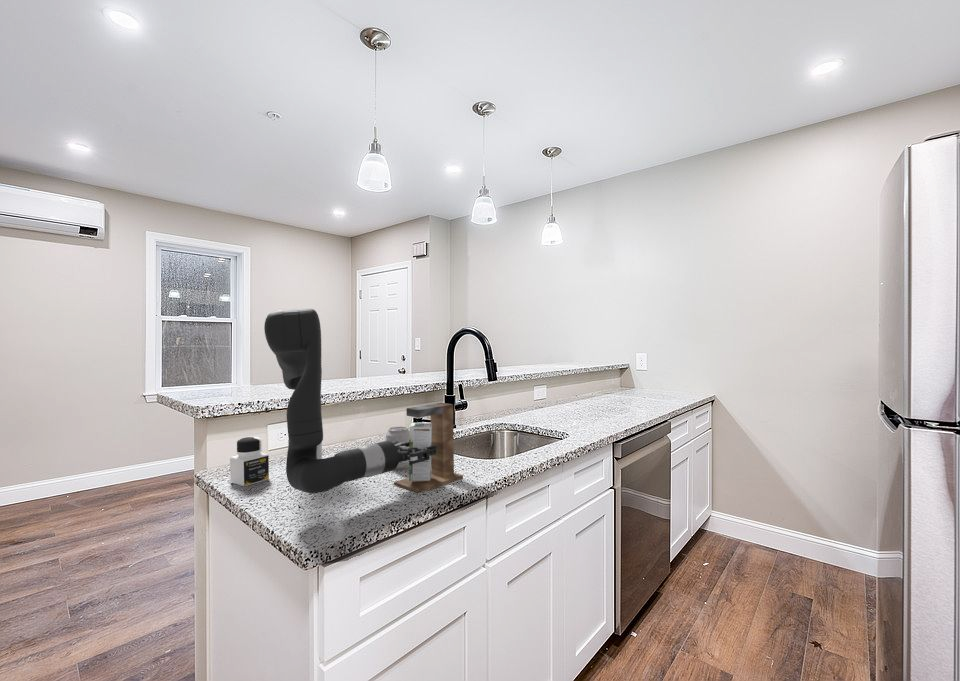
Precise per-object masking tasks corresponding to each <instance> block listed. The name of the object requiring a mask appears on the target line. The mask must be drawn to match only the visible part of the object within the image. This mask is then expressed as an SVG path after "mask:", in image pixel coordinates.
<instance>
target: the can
mask: <svg viewBox="0 0 960 681" xmlns="http://www.w3.org/2000/svg"><path fill="white" fill-rule="evenodd" d="M387 430H388V431H387V432H386V433H385V441H391V442H396V441H398V442H399V443H401V442H405V443H406V442H409V431H410V427H408V426H401V425H400V426H392V427H391V426H390V427H388V429H387ZM405 469H409V461H407V462H404V463H400V462H399V464H398V466H397V467H396V469H395V470H394V471H400V470H405Z"/></svg>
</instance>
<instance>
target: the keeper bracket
mask: <svg viewBox="0 0 960 681" xmlns="http://www.w3.org/2000/svg"><path fill="white" fill-rule="evenodd" d="M406 416H407V417H412V418H418V419H419V418H425V417H429V416H430V423H431V424H432V446H434V445H435V446H437V454H435V455H431V479H430V481H409V476H408V477H406V478H402V479H399V480H396V481H394V482H393V485H394V486H396V487H399V488H401V489H404V490H407V491H409V492H413V493H414V494H421V493H424V492H427V491H429V490H432V489H436V488H438V487H441V486H443V485H447V484H450V483H452V482H455V481H458V480H461V479H463V477H464V475H463V474H461V473H460V474H459V473H457V472H455V464H454V463H455V459H454V458H455V455H454V454H455V453H454V450H455V449H454V446H455V445H454V444H455V443H454V441H455V440H454V404H452V403H446V402H438V403H437V402H436V403H431V404H425V405H417V406H411V407H406Z"/></svg>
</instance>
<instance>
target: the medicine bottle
mask: <svg viewBox="0 0 960 681" xmlns="http://www.w3.org/2000/svg"><path fill="white" fill-rule="evenodd" d="M262 450H263V449H262V438H261V437H258V436H247V437H241V438H240V439H238V440H237V441H236V454H237V455H234V456H230V458H229V473H230V475H229V477H230V481H229V482H230V483H231V482H232V484H235V485H238V486H241V487H247V486H252V485H254V484H258V483H261V482H265V481H268V480H269V478H270V476H269V475H270V473H269V472H270V470H269V469H270V467H269V466H270V464H269V463H270V462H269V461H270V460H269V459H270V458H269V454H268V453H263V452H262Z"/></svg>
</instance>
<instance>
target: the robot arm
mask: <svg viewBox="0 0 960 681" xmlns="http://www.w3.org/2000/svg"><path fill="white" fill-rule="evenodd" d="M264 321H265V322H264V326H263V327H264V337H265V341H266V342H267V344H268V347H269V349H270V350H271V352H272V353H273V354H274V355H275V357H276V361H277V363H278V366H279V368H280V369H281V373H282V378H283V384H284V386H285V388H287V389H288V390H293V392H292V394H291V396H290V398H289V400H288V402H287V403H288V404H287V407H286V426H287V428H286V429H287V434H288V435H287V436H288V442H287V443H288V444H287V446H288V447H287V452H286V453H287V454H286V455H287V456H286V463H285V464H286V466H285V472H286V477H287V481H288V484H289V486H291V488H293V489H294V490H297V491H299V492H304V493H307V494H311V495H312V494H314V495H315V494H321V493H325V492H327V491H330V490H332V489H334V488H336V487H339V486H341V485H342V484H344V483H347V482H348V483H349V482H353V481H356V480H360V479H363V478H371V477H373V476H377V475H378V476H379V475H383V474H385V473H390V472H393V471H396V470H395V469H396V467H397V466H398V464H399V462H400V463H404V462H407V461H410V464H415V463H419V462H422V461H426V460H430V456H431V455H435V454H437V446H435V445H434V446H430V447H426V448H425V447H424V448H418V447H417V446H412V447H409V442H406V443H405V442H401V443H399V442H398V441H396V442H391V441H386V440H383V441H380V442H374V443H370V444H365V445H363V446H359V447H356V448H351V449H350V448H349V449H346V450H343V451H338V452H337V453H335V454H334V455H333V456H330V457H325V458H323V444H322V443H323V440H324V429H323V428H324V427H323V419H322V418H323V417H322V416H323V415H322V374H323V369H322V330H321V322H320V317H319V314H318V313H317V311H316V310H315V308H299V309H298V308H297V309H296V308H295V309H280V310H274V311H271V312H269V314H267V316H266V318H265V320H264ZM412 450H415V452H412Z"/></svg>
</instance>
